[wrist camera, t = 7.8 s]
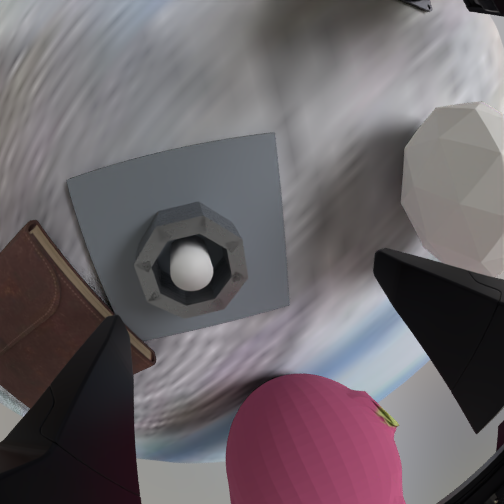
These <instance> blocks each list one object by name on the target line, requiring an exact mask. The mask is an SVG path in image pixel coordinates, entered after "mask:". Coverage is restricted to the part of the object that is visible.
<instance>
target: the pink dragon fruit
mask: <svg viewBox="0 0 504 504" xmlns="http://www.w3.org/2000/svg"><path fill="white" fill-rule="evenodd" d="M397 426H399V424H398V423H397V422H396V421H395V420H394V419H393V418H392V417H391V416H390V415H389V414H388V413H387V412H386V411H385V410H384V409H383V408H382V407H381V406H380V405H379V404H378V403H377V402H376V401H375V400H373V399H372V398H371V397H370V396H369V395H368V394H367V393H366V392H365V391H355V390H351V389H349V388H347V387H346V386H344V385H342V384H340V383H338V382H336V381H333V380H331V379H328V378H325V377H322V376H318V375H311V374H290V375H284V376H280V377H277V378H274V379H272V380H270V381H268V382H266V383H264V384H262V385H261V386H260V387H258V388H257V389H256V390H254V391H253V392H252V393H251V394H250V395H249V396H248V397H247V399H246V400H245V401H244V402H243V404H242V405H241V407H240V408H239V410H238V412H237V414H236V416H235V418H234V420H233V422H232V425H231V428H230V432H229V436H228V441H227V447H226V471H227V477H228V483H229V491H230V499H231V504H406V503H405V501H404V498H403V492H402V466H401V460H400V456H399V453H398V450H397V447H396V444H395V441H394V433H395V431H396V427H397Z"/></svg>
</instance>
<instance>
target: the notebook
mask: <svg viewBox="0 0 504 504" xmlns="http://www.w3.org/2000/svg"><path fill="white" fill-rule="evenodd" d="M111 315H115V314H114V313H113V311H112V310H111V309H110V308H109V307H108V306H107V305H106V304H105V303H104V302H103V301H102V300H101V299H100V298H99V297H98V296H97V294H96V293H95V292H94V291H93V290H92V289H91V288H90V287H89V286H88V284H87V283H86V282H85V281H84V280H83V279H82V277H81V276H80V275H79V274H78V273H77V272H76V270H75V269H74V268H73V267H72V266H71V264H70V263H69V262H68V261H67V259H66V258H65V257H64V256H63V254H62V253H61V252H60V251H59V249H58V248H57V247H56V245H55V244H54V243H53V241H52V240H51V239H50V237H49V236H48V235H47V233H46V232H45V231H44V229H43V228H42V226H41V225H40V224H39V222H38V221H37V220H31V221H29V222H28V223H27V224H26V225H25V226H24V227H23V228H22V229H21V230H20V231H19V232H18V234H17V235H16V236H15V237H14V238H13V239H12V240H11V241H10V242H9V244H8V245H7V246H6V247H5V248H4V249H3V251H2V252H1V253H0V385H1V386H2V387H3V388H5V389H6V390H7V391H8V392H9V393H11V394H12V395H13V396H14V397H16V398H17V399H18V400H20V401H21V402H22V403H23V404H25V405H26V406H27V407H29V408H30V409H31V408H32V406H33V405H34V404H35V403H36V402H37V400H38V399H39V398H40V397H41V395H42V394H43V393H44V391H45V390H46V389H47V388H48V386H50V384H51V383H52V381H53V380H54V379H55V377H56V376H57V375H58V374H59V372H60V371H61V370H62V369H63V367H64V366H65V365H66V364H67V363H68V361H69V360H70V359H71V358H72V357H73V355H74V354H75V353H76V352H77V351H78V349H79V348H80V347H81V346H82V345H83V343H84V342H85V341H86V340H87V339H88V338H89V336H90V335H91V334H92V333H93V332H94V331H95V329H96V328H97V327H98V326H99V325H100V324H101V323H102V321H103V320H104V319H105V318H106V317H107V316H111ZM124 325H125V324H124ZM125 327H126V329H127V331H128V333H129V336H130V343H131V356H132V368H133V375H134V374H136V373H138V372H140V371H142V370H144V369H146V368H149V367H151V366H153V365H154V364H155V363H156V356H155V353H154V351H153V350H152V349H151V348H150V347H148V346H147V345H146V344H145V343H144V342H143V341H142V340H141V339H140V338H139V337H138V336H137V335H136V334H135V333H134V332H133V331H131V330H130V329H129V328H128V327H127V326H126V325H125Z"/></svg>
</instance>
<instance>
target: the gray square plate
mask: <svg viewBox="0 0 504 504" xmlns="http://www.w3.org/2000/svg"><path fill="white" fill-rule="evenodd" d="M67 185H68V188H69V192H70V196H71V199H72V203H73V206H74V209H75V213H76V216H77V219H78V222H79V225H80V228H81V231H82V234H83V237H84V240H85V243H86V245H87V248H88V251H89V254H90V256H91V259H92V261H93V264H94V267H95V269H96V272H97V274H98V276H99V279H100V281H101V284H102V286H103V288H104V291H105V293H106V295H107V297H108V300H109V302H110V304H111V306H112V308H113V310H114V313H115V315H116V314H117V315H119V316H120V317H121V319H122V321H123V323H124V324H125V325H126V326H127V327H128V328H129V329H130V330H131V331H133V332H134V333H135V334H136V335H137V336H138V337H139V338H140V339H141V340H142V341H146V340H151V339H156V338H161V337H166V336H170V335H175V334H179V333H184V332H188V331H193V330H197V329H201V328H206V327H210V326H214V325H218V324H222V323H226V322H230V321H234V320H238V319H242V318H245V317H249V316H253V315H257V314H260V313H264V312H268V311H271V310H275V309H278V308H282V307H285V306H289V305H290V304H289V288H288V273H287V258H286V245H285V232H284V220H283V208H282V197H281V187H280V176H279V166H278V157H277V147H276V138H275V133H264V134H256V135H249V136H242V137H235V138H229V139H223V140H217V141H211V142H206V143H201V144H196V145H191V146H186V147H181V148H176V149H172V150H167V151H163V152H159V153H155V154H151V155H147V156H143V157H139V158H135V159H131V160H128V161H124V162H121V163H117V164H114V165H110V166H107V167H104V168H100V169H97V170H94V171H91V172H88V173H85V174H82V175H79V176H76V177H73V178H70V179H68V180H67ZM194 202H201V203H202V204H204V205H206V206H207V207H209V208H210V209H212V210H214V211H215V212H217V213H218V214H220V215H222V216H223V217H225V218H226V219H228V220H230V221H231V222H232V223H233V224H234V226H235V228H236V229H237V231H238V233H239V234H240V236H241V238H242V240H243V246H244V253H245V259H246V266H247V272H248V279H247V281H246V282H245V283H244V285H243V286H242V287H241V288H240V290H239V291H238V292H237V294H236V295H235V296H234V297H233V299H232V300H231V301H230V303H229V304H228V305H227V306H226V308H225V309H223V310H219V311H215V312H211V313H207V314H203V315H199V316H195V317H190V318H186V319H183V318H181V317H179V316H177V315H174V314H172V313H170V312H168V311H165V310H163V309H161V308H159V307H157V306H154V305H152V304H150V303H148V302H147V300H146V297H145V294H144V292H143V289H142V287H141V284H140V281H139V278H138V276H137V273H136V270H135V267H134V261H135V257H136V252H137V248H138V244H139V242H140V241H141V239H142V237H143V236H144V234H145V232H146V230H147V229H148V227H149V225H150V224H151V222H152V220H153V219H154V217H155V216H156V214H157V212H158V211H160V210H164V209H168V208H172V207H177V206H181V205H185V204H190V203H194ZM223 256H224V255H223V249H222V246H220V245H219V244H217V243H215V242H213V241H212V240H210V239H208V238H207V237H205V236H203V235H201V234H196V235H192V236H188V237H184V238H179V239H175V240H171V241H167V243H166V244H165V246H164V248H163V249H162V251H161V252H160V254H159V256H158V257H157V259H158V262H159V265H160V268H161V270H162V271H164V272H166V273H167V274H169V275H171V279H172V281H173V282H174V284H175V285H176V286H177V287H179V288H180V289H183V290H186V291H196V290H200V289H202V288H204V287H205V286H206V285H208V283H209V282H210V281H211V279H212V276H213V269H214V268H215V267H216V265H217V264H218V262H219V261H220V260H221V258H222V257H223Z"/></svg>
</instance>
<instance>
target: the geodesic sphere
mask: <svg viewBox="0 0 504 504" xmlns="http://www.w3.org/2000/svg"><path fill="white" fill-rule="evenodd" d="M401 205H402V206H403V208H404V210H405V212H406V214H407V216H408V218H409V219H410V221H411V223H412V225H413V227H414V229H415V231H416V233H417V235H418V237H419V239H420V241H421V243H422V246H423V247H424V248H425V249H426V250H428V251H429V252H430V253H431V254H432V255H434V256H435V257H436V258H437V259H438V260H440V261H441V262H442V263H444V264H448V265H451V266H455V267H458V268H462V269H465V270H467V271H468V270H469V271H472V272H476V273H479V274H483V275H487V276H490V277H494V278H495V277H496V276H498V275H500V274H501V273H503V272H504V114H502V113H501V112H499V111H498V110H496V109H494V108H493V107H491V106H489V105H488V104H486V103H484V102H482V101H481V102H472V103H464V104H457V105H450V106H443V107H437V108H435V110H434V111H433V112H432V113H431V114H430V115H429V117H428V118H427V119H426V120H425V121H424V123H423V124H422V125H421V126H420V127H419V128H418V130H417V131H416V132H415V134H414V135H413V137H412V138H411V140H410V141H409V142H408V144H407V145H406V147H405V148H404V166H403V181H402V193H401Z"/></svg>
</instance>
